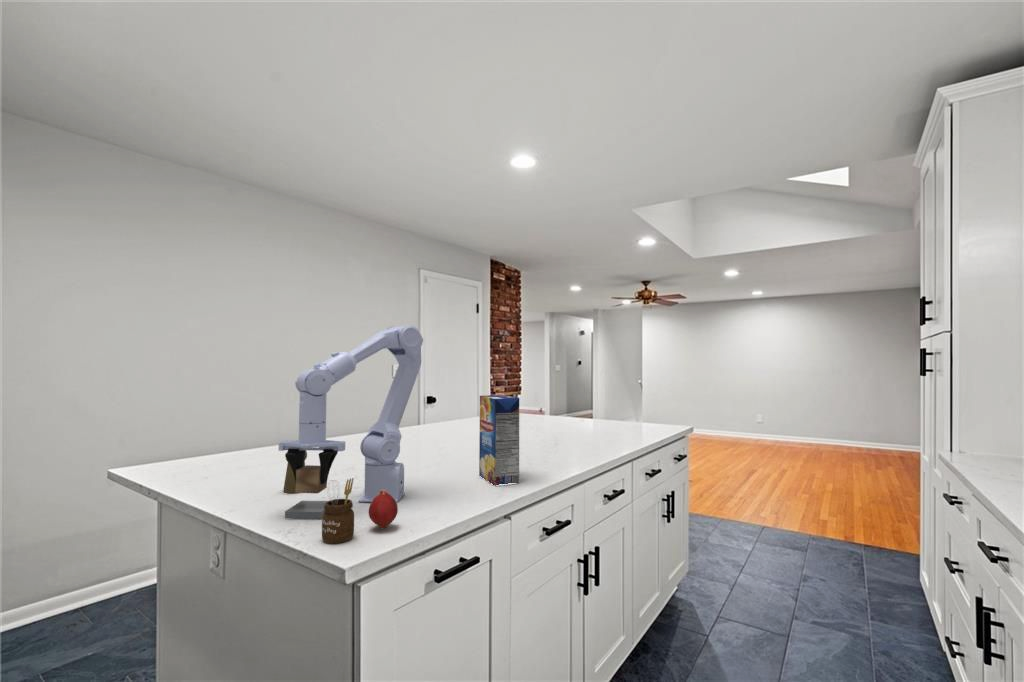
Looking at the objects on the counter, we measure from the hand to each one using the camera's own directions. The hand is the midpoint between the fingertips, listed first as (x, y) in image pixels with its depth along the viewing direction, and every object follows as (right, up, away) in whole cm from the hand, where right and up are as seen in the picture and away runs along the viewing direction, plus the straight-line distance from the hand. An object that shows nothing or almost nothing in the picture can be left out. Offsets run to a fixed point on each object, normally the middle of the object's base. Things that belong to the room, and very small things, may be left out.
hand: (311, 482), depth 109 cm
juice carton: (+42, -8, +30) cm, 52 cm away
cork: (-12, -8, +18) cm, 23 cm away
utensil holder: (+12, -7, -15) cm, 20 cm away
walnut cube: (0, -2, 0) cm, 2 cm away
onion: (+19, -7, -10) cm, 22 cm away
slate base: (0, -7, 0) cm, 7 cm away
